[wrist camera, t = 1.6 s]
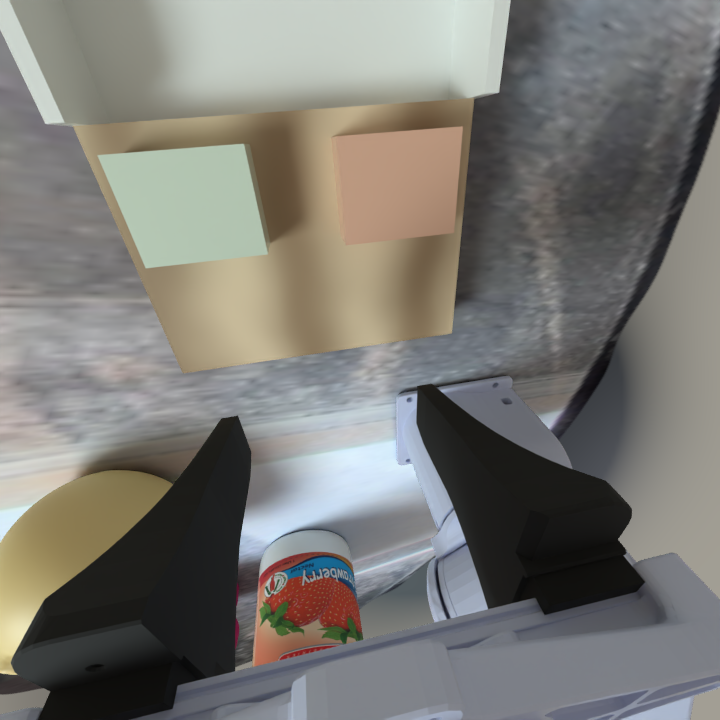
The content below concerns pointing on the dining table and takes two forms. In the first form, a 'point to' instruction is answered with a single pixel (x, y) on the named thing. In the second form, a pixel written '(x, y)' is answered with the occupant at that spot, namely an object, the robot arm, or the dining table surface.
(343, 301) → the board
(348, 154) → the tile
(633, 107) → the dining table surface
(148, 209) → the tile
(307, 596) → the fruit juice
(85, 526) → the sculpture
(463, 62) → the tray
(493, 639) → the robot arm
